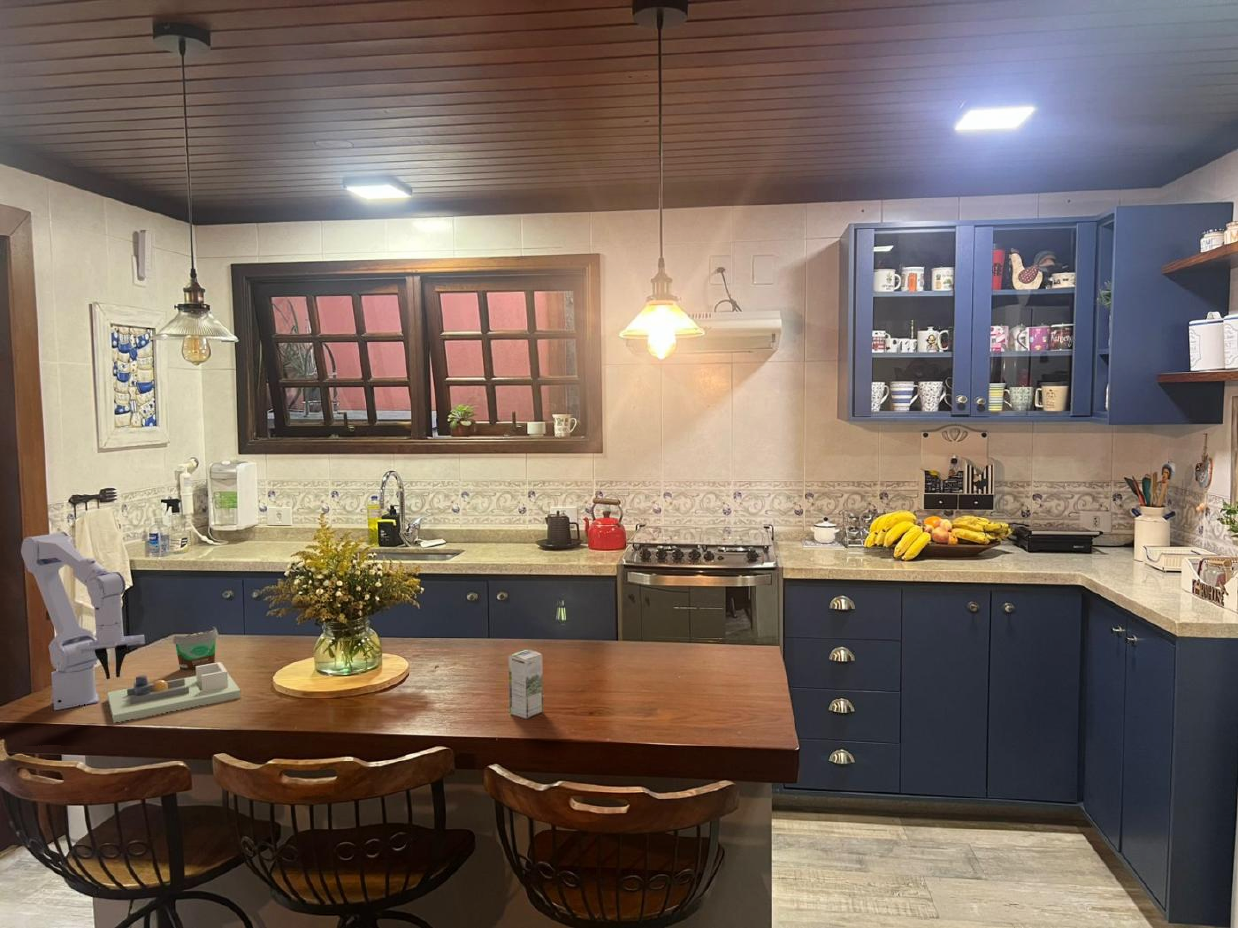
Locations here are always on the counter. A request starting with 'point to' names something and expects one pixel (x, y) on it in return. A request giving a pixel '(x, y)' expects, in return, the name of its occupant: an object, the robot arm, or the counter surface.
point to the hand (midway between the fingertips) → (113, 677)
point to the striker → (141, 686)
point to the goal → (212, 676)
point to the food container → (196, 649)
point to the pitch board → (167, 698)
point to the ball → (159, 686)
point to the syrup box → (526, 683)
